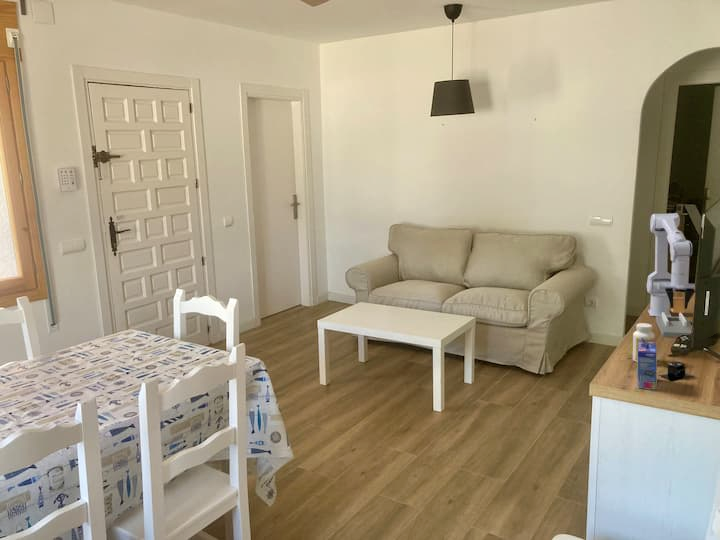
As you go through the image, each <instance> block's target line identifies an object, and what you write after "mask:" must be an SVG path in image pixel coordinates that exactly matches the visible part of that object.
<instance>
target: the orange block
mask: <svg viewBox="0 0 720 540" xmlns="http://www.w3.org/2000/svg"><path fill="white" fill-rule="evenodd" d="M685 310H686V309H685V297H673V308H671V307H670V311H671V312H672V313H678V314H679V313H682V314H683V313H684V314H685Z"/></svg>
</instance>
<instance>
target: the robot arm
mask: <svg viewBox="0 0 720 540" xmlns="http://www.w3.org/2000/svg"><path fill="white" fill-rule="evenodd" d="M680 219H681V218H680V215H679V214H678V212H674V213H652V215H651V216H650V222H649V225H650V228H649V229H650V233H652V234H654V237H655V238H654V239H655V241H654V242H655V244H654V245H655V250H654V255H655V256H654V257H655V258H654V271H653V272H652V273H650V274H649V275H648V276H647V281H646V291H647V293H648V294H650V304H649V305H650V306H649V307H650V308H649V309H647V312H648V315H649V316H650V317H656V316H662V312H664V313H665V315H666V316H669V317H672V314H671V312H670V309H671V308H673V298H674V294H675V290H682V291H684V299H685V310H687V309H688V306H689V303H690V300H691V299H692V297H693V295H694V294H695V291H696V290H695V284H696V283H689V274H690V257H691V256H692V255H693V243H692V242H691V240H688V239H686V237H685V235H684V233H683V232H682V230H679V227H680V222H681V221H680ZM668 248H669V249H668ZM668 250H669V252H668ZM669 253H670V261H671V270H670V271H671V273H670V272H668V260H669V259H668V255H669Z"/></svg>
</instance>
